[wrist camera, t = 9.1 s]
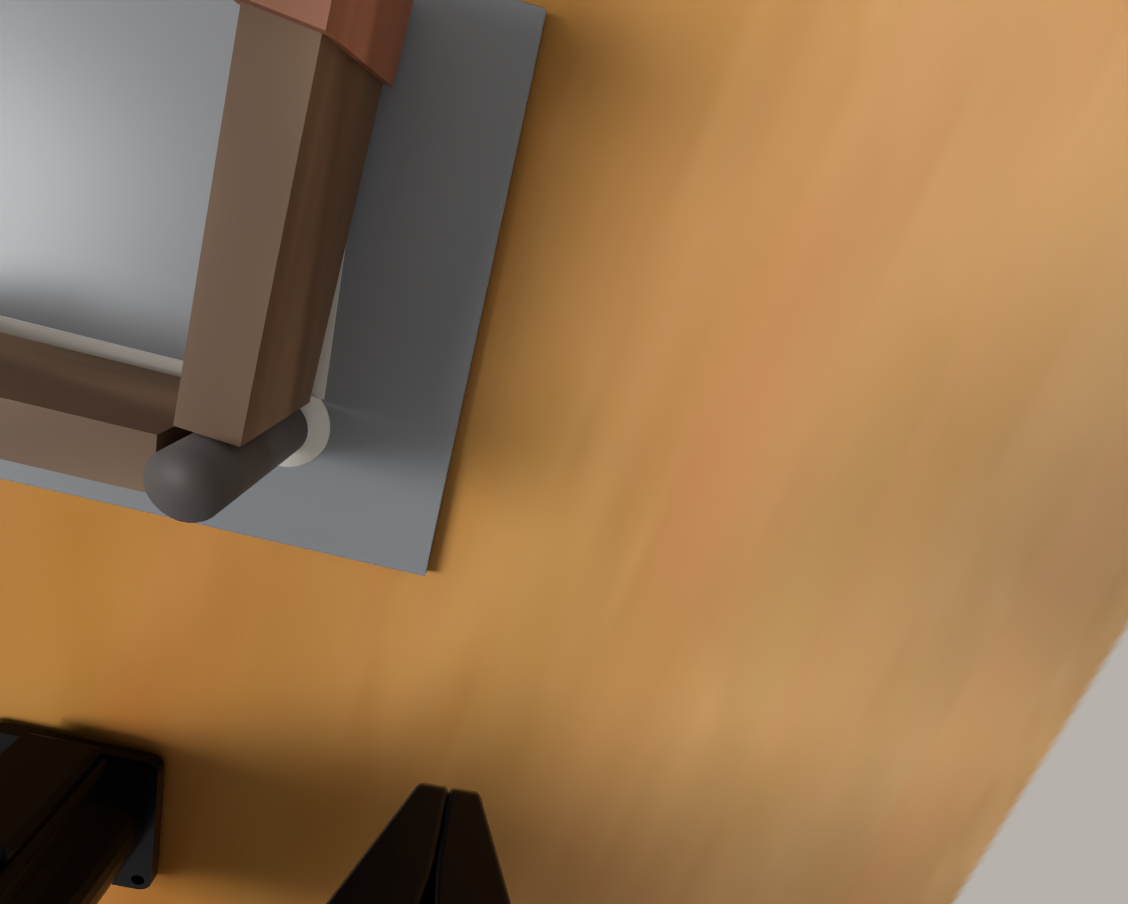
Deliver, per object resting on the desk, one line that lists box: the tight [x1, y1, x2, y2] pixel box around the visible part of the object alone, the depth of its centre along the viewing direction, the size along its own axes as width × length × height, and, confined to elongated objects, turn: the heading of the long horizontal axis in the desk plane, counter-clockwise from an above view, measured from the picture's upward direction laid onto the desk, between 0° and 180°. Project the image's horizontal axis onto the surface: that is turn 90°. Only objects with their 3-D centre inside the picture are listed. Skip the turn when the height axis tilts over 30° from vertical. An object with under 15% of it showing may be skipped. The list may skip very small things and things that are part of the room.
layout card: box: [0, 0, 547, 576], centre depth 17 cm, size 16×15×1 cm
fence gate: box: [173, 0, 413, 447], centre depth 14 cm, size 2×10×4 cm, turn 160°
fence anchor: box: [0, 333, 308, 523], centre depth 16 cm, size 2×12×5 cm, turn 76°
